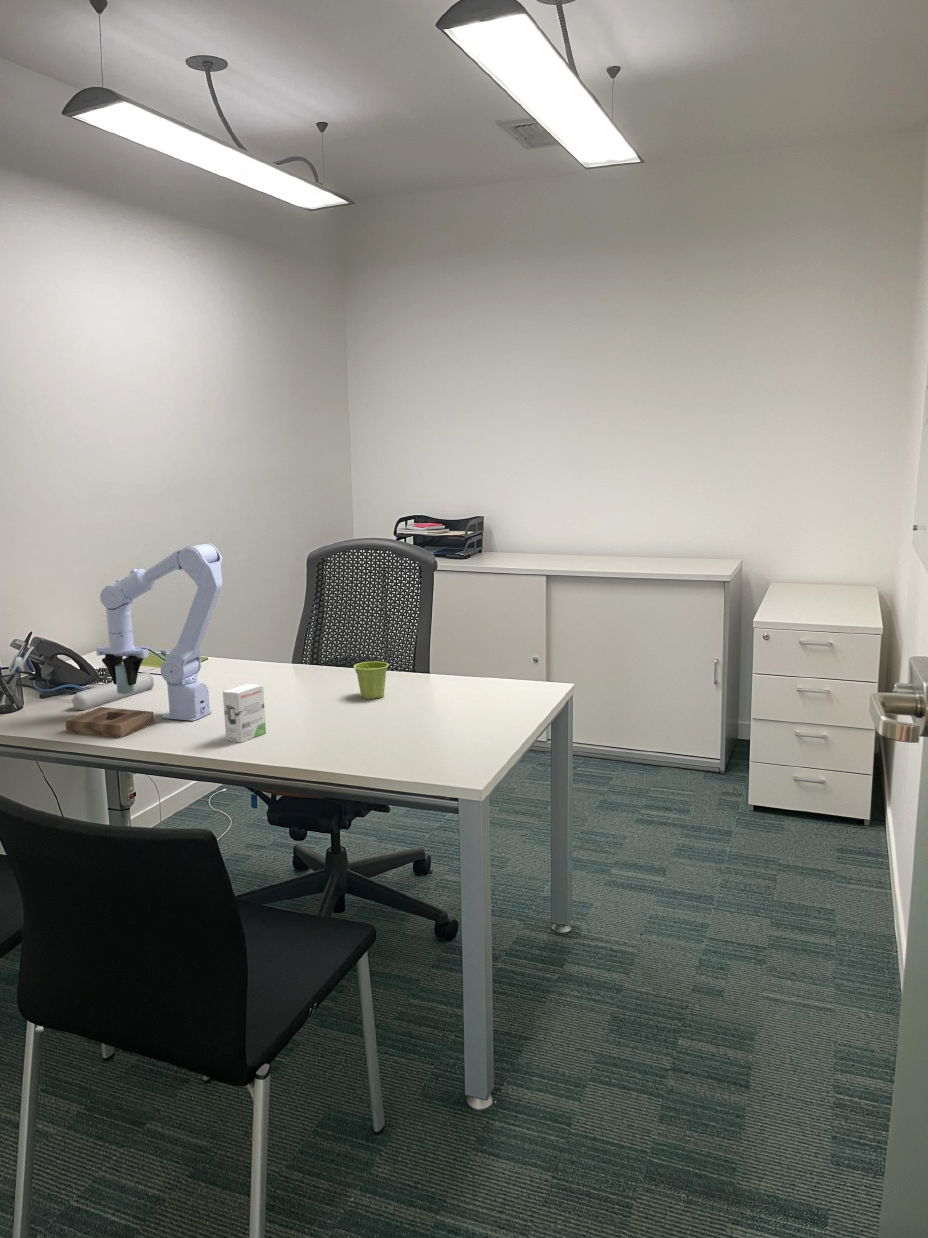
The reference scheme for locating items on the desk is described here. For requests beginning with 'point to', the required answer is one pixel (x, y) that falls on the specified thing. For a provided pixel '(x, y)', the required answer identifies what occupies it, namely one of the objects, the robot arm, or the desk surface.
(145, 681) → the tube
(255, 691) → the ink box
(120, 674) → the peg
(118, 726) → the socket board
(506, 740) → the desk surface
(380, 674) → the plant pot
